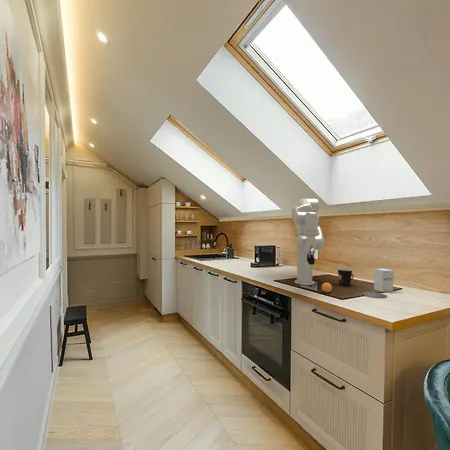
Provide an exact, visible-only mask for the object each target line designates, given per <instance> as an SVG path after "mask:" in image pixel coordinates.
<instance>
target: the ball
mask: <svg viewBox="0 0 450 450" xmlns="http://www.w3.org/2000/svg"><path fill="white" fill-rule="evenodd" d="M332 289H333V286H332V284H331V283H330V282H323V283H322V285H321V290H322V291H323V292H324V293H330V292H331V291H332Z"/></svg>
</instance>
